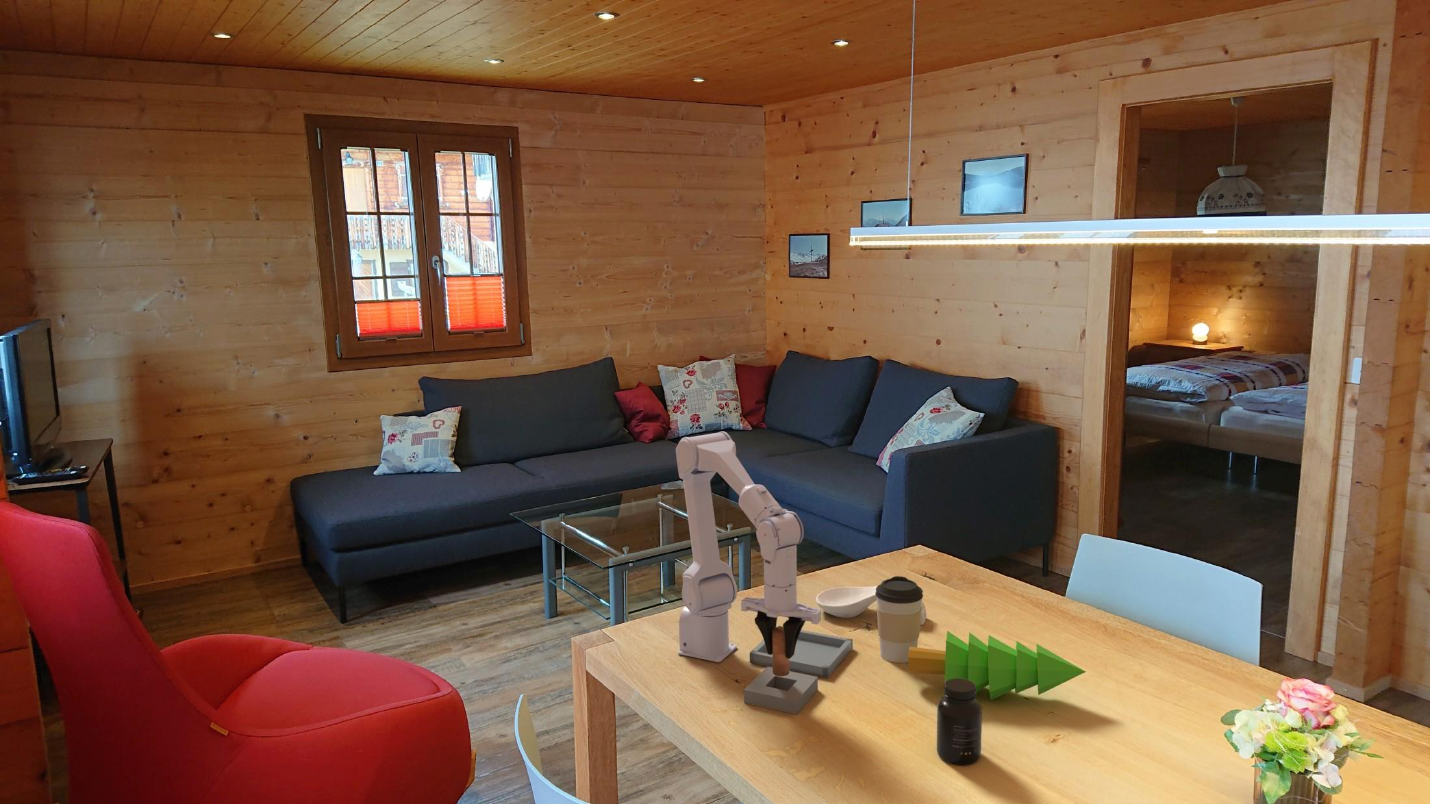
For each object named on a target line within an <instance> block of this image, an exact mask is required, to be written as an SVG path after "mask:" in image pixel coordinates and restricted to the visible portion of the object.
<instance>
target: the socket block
mask: <svg viewBox="0 0 1430 804" xmlns="http://www.w3.org/2000/svg"><path fill="white" fill-rule="evenodd" d="M818 680H819V676H814V675H809V674H804V673H799V672H794V671H790V670H789V674H788V675H786V676H776V675H774V674H773V667H770V666H766V667H765V668H764V669H763V670H762V671H761V672H760V673H759V674H758V675H757V676H756V677H755V678H754V679H753V680H752V681H751V682H750V683H749V684H747V686H746V687H745V688H744V689H743V702H744V704H748V705H753V706H757V707H760V708H764V709H765V708H766V709H769V710H774V711H779V712H782V713H788V714H792V715H795V716H796V715H798V713H800V711H802V710H803V708H804V707H805V705H806V704H807V703H808V702H809V701H810V700H811V698H812V697H813V696H814V695H815V694H816V693H817V691H818V690H819V687H818V686H819V681H818Z"/></svg>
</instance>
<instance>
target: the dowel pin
mask: <svg viewBox="0 0 1430 804" xmlns="http://www.w3.org/2000/svg"><path fill="white" fill-rule="evenodd" d="M772 660H773V667H772V668H773V674H774V675H776V676H786V675H788V674H789V671H790V670H789V658H786V639H785V632H784V628H783V627H778V626H776V627H775V628H773V629H772Z"/></svg>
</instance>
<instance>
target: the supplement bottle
mask: <svg viewBox="0 0 1430 804" xmlns="http://www.w3.org/2000/svg"><path fill="white" fill-rule="evenodd" d="M981 704H982V703H980V701H979V700H978V699H977V692H976V685H975V684H974V683H973V682H971V681H969V680H966V679H961V678H954V679H949V680H947V681H946V682H945V681H944V684H943V696H941V697H940V698H939V700H938V702H937V709H936V753H937V754H938V757H939V758H940V759H941V760H942V761H944V762H945V763H948V764H950V765H955V766H959V767H961V766H962V767H964V766H965V767H966V766H970V765H973V764H975V763H977V762H978V761H979V760H980V758H981V757H982V756H981V755H982V729H983V728H982V727H983V726H982V725H983V708H982V705H981Z"/></svg>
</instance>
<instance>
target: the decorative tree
mask: <svg viewBox="0 0 1430 804" xmlns="http://www.w3.org/2000/svg"><path fill="white" fill-rule="evenodd" d="M907 664H908V666H907V667H908V674H913V675H915V674H916V675H918V674H919V675H920V674H923V675H926V674H927V675H944V683H945V682H946V681H947V680H949V679H954V678H961V679H966V680H969V681H971V682H973V683H974V684H975V685H976V693H977V692H980V691H981V690H983V689H984V688H986V687H988V691H989V699H990V701H992V700H994V699H997V698H999V697H1001V696H1002V695H1005V694H1007V693H1008V692H1011V691H1012V690H1014V692H1015V695H1017V694H1019V693H1021V692H1023V691H1026V690H1029V689H1031V688H1033V687H1036V686H1037V695H1038V696H1040V695H1041V694H1044V693H1046V692H1047V691H1050V690H1052V689H1054V688H1056V687H1058V686H1060V685H1062V684H1064V683H1066V682H1068V681H1070V680H1072V679H1074V678H1077V677H1078V676H1081V675H1083V674H1085V673H1086V672H1087V671H1086V670H1084V669H1082V668H1080V667H1079V666H1077V665H1075V664H1073V663H1071V662H1069V661H1068V660H1066V659H1064V658H1063V657H1061V656H1059V655H1058V654H1055V653H1054V652H1052V651H1050V650H1048V649H1047V648H1045V647H1043V646H1041V645H1040V644H1038V643H1036V652H1035V651H1033V650H1032V649H1031V648H1029V647H1027V646H1026V645H1024V644H1022V643H1021V642H1020V641H1017V640H1016V642H1015V648H1014V647H1011V646H1009V645H1008V644H1006V643H1004V642H1002V641H1000V640H999V639H997V638H995V637H994V636H991V635H989V634H988V641H987V644H986V643H984V642H983V641H982V640H980V639H979V638H978V637H976V635H974V634H972V632H969V633H968V643H967V642H966V641H963V640H962V639H961V638H959V637H958V636H956V635H954V634H953V633H952V632H950V631H949V630H947V631H946V640H945V650H940V649H932V648H923V647H918V646H917V647H909V653H908V662H907Z"/></svg>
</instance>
